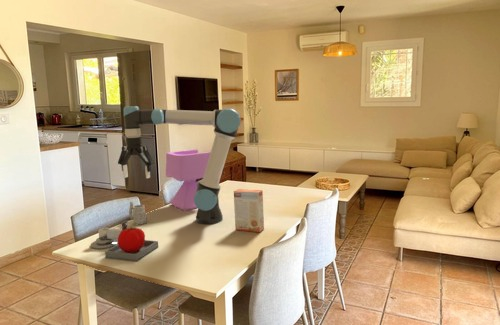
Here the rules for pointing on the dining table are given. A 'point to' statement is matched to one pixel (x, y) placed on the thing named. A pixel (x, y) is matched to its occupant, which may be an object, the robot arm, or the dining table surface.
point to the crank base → (104, 243)
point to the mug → (137, 213)
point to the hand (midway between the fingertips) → (136, 177)
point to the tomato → (131, 239)
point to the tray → (135, 256)
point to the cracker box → (249, 210)
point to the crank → (111, 232)
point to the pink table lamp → (186, 175)
